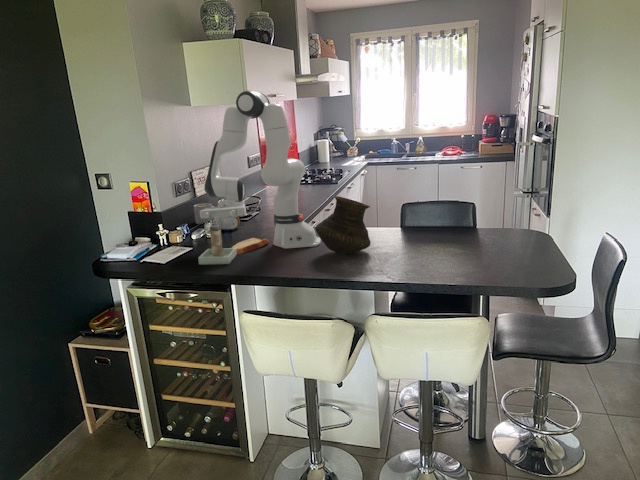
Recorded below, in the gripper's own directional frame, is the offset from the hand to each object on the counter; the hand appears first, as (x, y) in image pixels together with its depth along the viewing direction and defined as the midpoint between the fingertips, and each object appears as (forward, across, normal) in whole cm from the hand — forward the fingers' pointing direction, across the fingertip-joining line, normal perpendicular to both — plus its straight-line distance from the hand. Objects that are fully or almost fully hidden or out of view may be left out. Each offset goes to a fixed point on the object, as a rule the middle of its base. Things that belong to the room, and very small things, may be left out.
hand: (218, 215), depth 208 cm
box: (+4, -2, +18) cm, 19 cm away
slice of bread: (-13, +8, +19) cm, 25 cm away
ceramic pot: (0, +52, +21) cm, 57 cm away
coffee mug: (-70, -29, +16) cm, 77 cm away
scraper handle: (+4, -2, +18) cm, 18 cm away
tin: (-50, -12, +17) cm, 54 cm away
